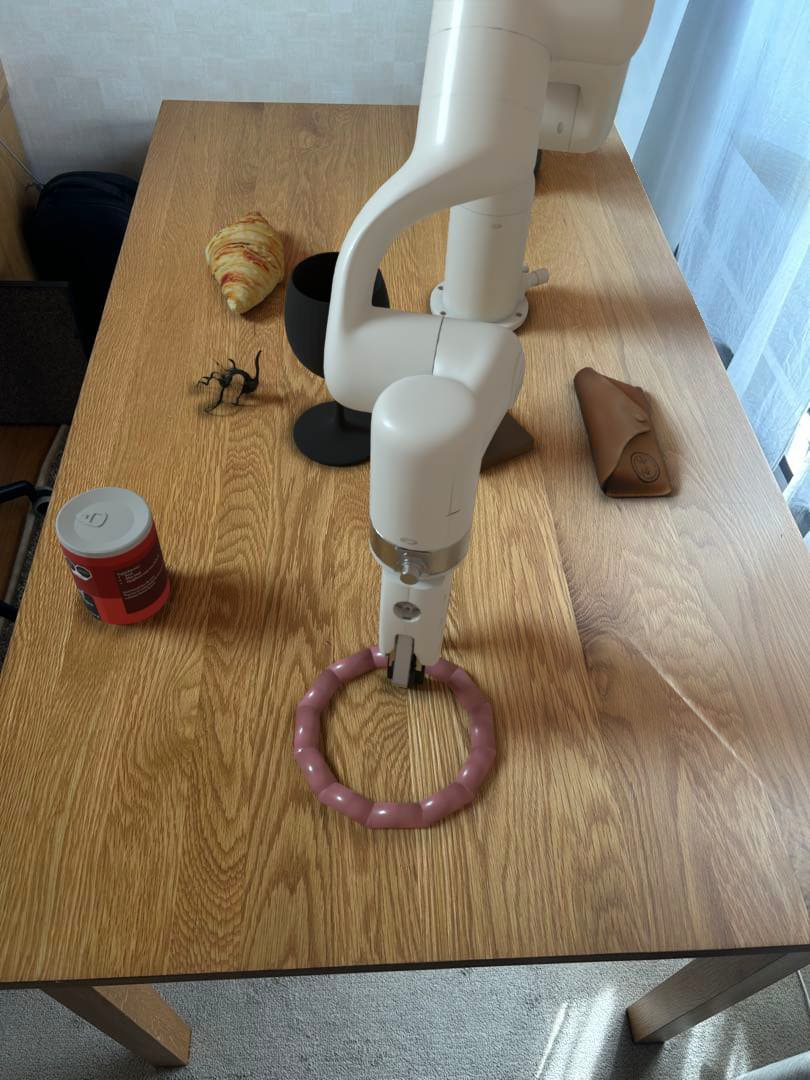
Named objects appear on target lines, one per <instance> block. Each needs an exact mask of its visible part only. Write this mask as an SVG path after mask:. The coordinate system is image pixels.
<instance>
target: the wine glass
mask: <svg viewBox="0 0 810 1080" xmlns="http://www.w3.org/2000/svg"><path fill="white" fill-rule="evenodd" d="M339 253H340V251H326V252H320V253H316V254H313V255H310V256H308V257H306V258H303V259H302V260H300V261H299V262H297V264H295V266H294V267H293V269H292V270H291V273H290V276H289V279H288V283H287V288H286V291H285V297H284V304H283V306H284V307H283V323H284V330H285V334H286V339H287V342H288V345H289V346H290V350H291V351H292V353H293V354H294V356H295V358H296V359H297V361H299V362H300V364H301V365H302V366H303V367H305V369H307V370H308V371H309V372H310V373H312V374H314V375H315V376H317V377H319V378H322V379H324V380H325V376H324V349H325V339H326V331H327V323H328V316H329V308H330V301H331V293H332V284H333V277H334V272H335V267H336V263H337V259H338V256H339ZM372 306H374V307H381V308H390V309H391V303H390V297H389V293H388V289H387V285H386V282H385V279H384V276H383V273H382V271H381V269H380V267H379V268H378V271H377V274H376V278H375V282H374V287H373V294H372ZM371 420H372V413H370V412H363V411H358V410H354V409H351V408H348V407H345V406H343V405H341V404H340V403H339V402H337V401H336V400H335V399H334V400H331V401H330V400H329V401H324V402H321V403H318V404H316V405H313V406H311V407H309V408H308V409H306V410H305V411H303V412H302V413H301V414H300V415H299V417H298V418H297V419H296V421H295V423H294V424H293V429H292V430H293V431H292V437H293V442H294V445H295V447H296V448H297V449H298V451H299V452H300V453H301V454H302V455H303V456H305V458H308V459H309V460H312V461H313V462H316V463H319V464H321V465H325V466H331V467H348V466H355V465H358V464H361V463H364V462H366V461H368V460H369V459H370V460H371Z"/></svg>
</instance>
